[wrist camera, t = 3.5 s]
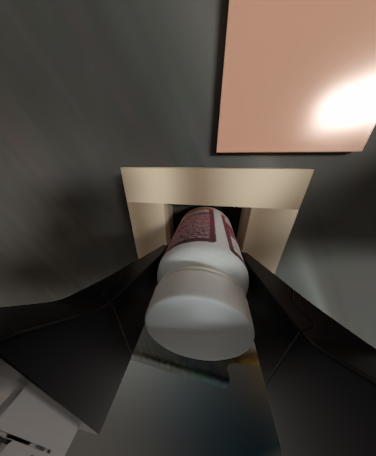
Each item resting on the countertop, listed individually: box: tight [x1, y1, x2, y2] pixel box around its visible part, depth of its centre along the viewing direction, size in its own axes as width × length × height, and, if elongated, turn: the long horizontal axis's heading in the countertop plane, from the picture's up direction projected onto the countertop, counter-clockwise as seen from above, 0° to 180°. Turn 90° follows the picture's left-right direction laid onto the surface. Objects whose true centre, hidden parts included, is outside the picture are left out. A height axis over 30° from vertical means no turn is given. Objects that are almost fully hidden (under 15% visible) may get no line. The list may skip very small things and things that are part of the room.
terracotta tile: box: [216, 0, 376, 153], centre depth 8 cm, size 9×8×1 cm
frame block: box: [120, 167, 314, 274], centre depth 12 cm, size 12×11×2 cm
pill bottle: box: [145, 207, 255, 361], centre depth 9 cm, size 5×5×8 cm
